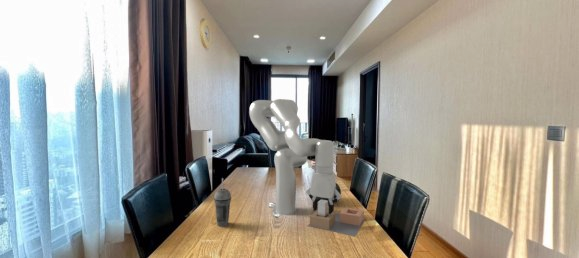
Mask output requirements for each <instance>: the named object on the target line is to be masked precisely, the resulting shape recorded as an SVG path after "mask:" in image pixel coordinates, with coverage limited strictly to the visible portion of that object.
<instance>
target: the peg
mask: <svg viewBox="0 0 579 258" xmlns="http://www.w3.org/2000/svg"><path fill="white" fill-rule="evenodd" d="M317 210H318V216H320V217H325V218H326V217H327V216H328V212H329V204H328V201H327V200H320V201H318V209H317Z"/></svg>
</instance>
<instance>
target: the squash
mask: <svg viewBox="0 0 579 258" xmlns="http://www.w3.org/2000/svg"><path fill="white" fill-rule="evenodd" d="M336 190H337V191H338V192H339V193H340V195H341V196H342V191H341V187H340V185H339V184H338V183H337V182H336ZM336 197H337V196H336V195H335V196H334V197H333V198H334V199H335V198H336ZM320 200H327V201H328V205H329V204H330V202H329V199H328V198H321V197H317V201H320ZM339 201H340V199H339V200H338V201H336V202H335V203H336V204H337V203H338V202H339ZM335 203H334V204H335Z"/></svg>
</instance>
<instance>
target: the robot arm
mask: <svg viewBox="0 0 579 258" xmlns="http://www.w3.org/2000/svg"><path fill="white" fill-rule="evenodd" d="M298 110H299V107H298V104H297V103H296V102H295V101H294V100H293V99H287V98H286V99H285V98H277V99H275V100H267V99H257V100H254V101H252V103H251V104H250V106H249V111H248V113H249V118H250V121H251V122H252V124H253V126H254V128H256V129H257V132H259V134H260V136H261V137H262V139H263V140H264V142H265V143H266V145H267V147H268V148H269V149H270V150H271V151H275V152H276V153H274V158H273V159H274V160H273V162H274V167H275V202H272V201H271V202H269V205H268V206H269V207H268V208H270V209H273V210H272V216H274V217H275V218H278V219H279V218H280V217H282V216H283V215H285V216H286V215H287V216H289V215H293V214H295V213H296V206H297V205H296V203H297V200H296V199H297V192H296V191H297V177H296V176H297V175H296V173H295V170H294V168H298V167H302V166H304V165H306V163H307V161H308V157H315V158H314V159H315V162H314V165H312V166H311V168H312V169H313V170H314V171H313V172H312V173H311V174H312V175H311V180H310V181H311V182H310V187H309V188H308V189H307V190H306V195H308V196H309V198H310V199H311V202H312V209H313V212H316V211H317V210H318V201H317V197H321V198H328V199H329V202H330V204H328V212H329V214H331V213H334V208H335V207H334V206H335V202H336V201H338V200H339V201H340V199H341V198H342V197H343V196H342V194H341V195H340V193H339V192H338V191H337V190H336V183H337V182H336V177H335V176H336V175H335V173H334V142H333V141H332V140H326V139H319V138H314V137H313V138H311V137H310V138H303V139H302V137H301V136H300V135H299V134H298V133H297V130H296V129H297V128H298V127H299V126H300V124H301V119H300V117H299V116H298V115H297V113H298ZM269 117H271V118H276V120H277V121H278V122H279V123H280V125H281V126H282V128H283V129H284V130H279V129H278V128H277V127H276V125H275V123H274V122H273V120H271V119H269ZM335 195H336V196H337V197H336V198H335V199H334V198H333V197H334V196H335ZM339 201H338V202H339ZM336 203H337V202H336Z"/></svg>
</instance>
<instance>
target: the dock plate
mask: <svg viewBox="0 0 579 258" xmlns="http://www.w3.org/2000/svg"><path fill="white" fill-rule="evenodd" d="M364 211H365V210H364V209H358V208H354V207H353V208H350V207H346V206H345V207H344V208H343V209H342V210H341V212H340V213H335V212H332V213H331V214H329V211H328V216H327V217H326V218H325V217H320V216H318V209H317V210H316V211H313V213H312V214H311V215H309V223H308V225H307V227H309V228H314V229H319V230H323V231H327V232H328V231H329V232H332V233H336V234H342V235H346V236H351V237H356V236H357V234H358V232H359V231H360V230H361V227H362V226H363V224H364V223H365V221H366V218H364V216H365V212H364Z"/></svg>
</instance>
